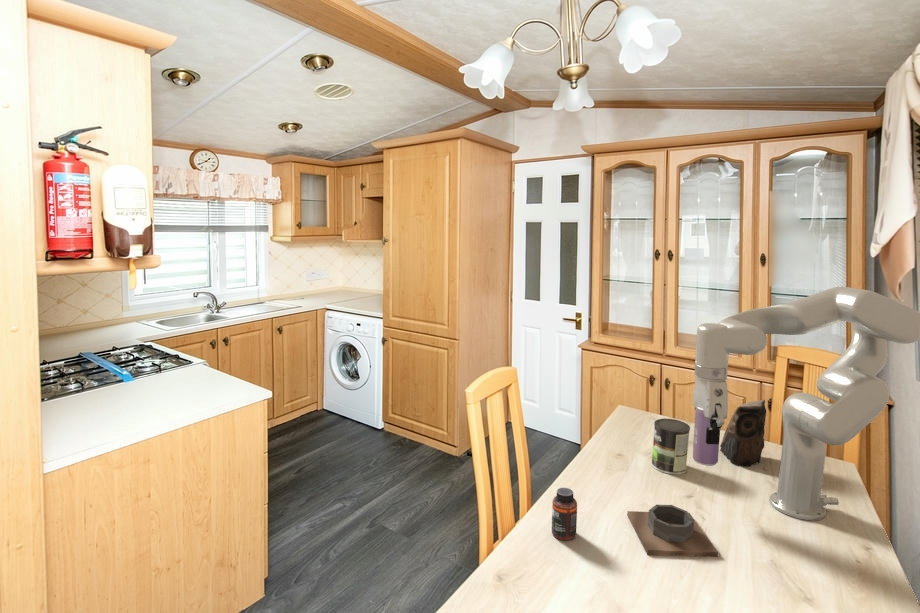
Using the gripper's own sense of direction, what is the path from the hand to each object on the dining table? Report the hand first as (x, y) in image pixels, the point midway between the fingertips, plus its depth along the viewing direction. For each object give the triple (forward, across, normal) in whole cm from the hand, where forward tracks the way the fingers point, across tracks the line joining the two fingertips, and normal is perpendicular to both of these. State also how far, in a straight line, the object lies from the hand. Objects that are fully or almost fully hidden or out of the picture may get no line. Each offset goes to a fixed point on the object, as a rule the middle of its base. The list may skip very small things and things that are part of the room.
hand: (706, 437), depth 132 cm
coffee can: (+21, +24, 0) cm, 32 cm away
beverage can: (+7, 0, 0) cm, 7 cm away
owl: (+21, +32, -26) cm, 46 cm away
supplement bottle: (+19, -13, +39) cm, 46 cm away
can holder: (+20, -12, +13) cm, 27 cm away
